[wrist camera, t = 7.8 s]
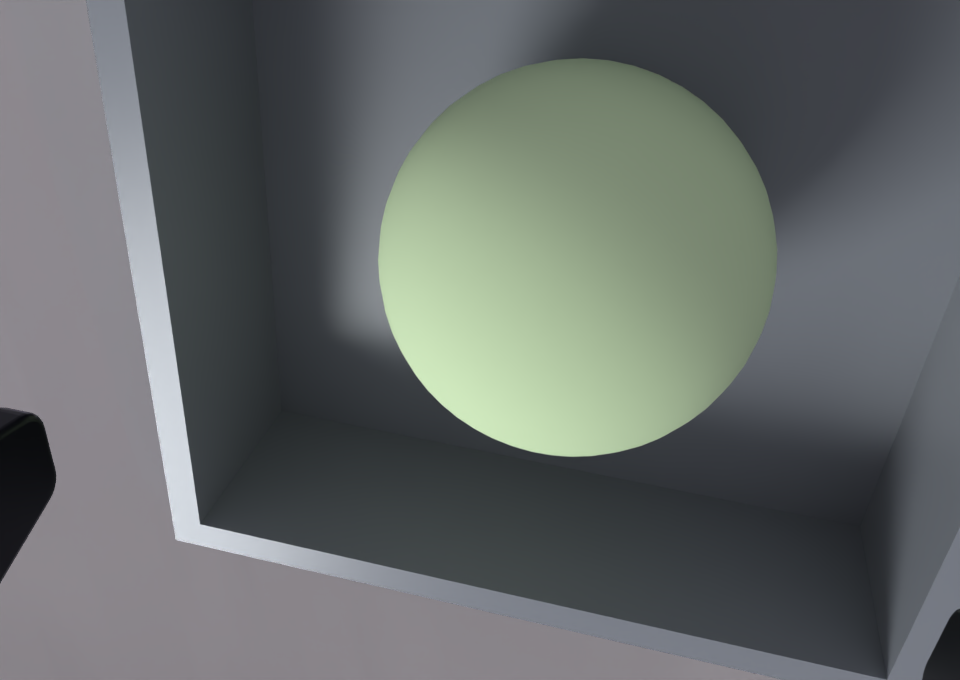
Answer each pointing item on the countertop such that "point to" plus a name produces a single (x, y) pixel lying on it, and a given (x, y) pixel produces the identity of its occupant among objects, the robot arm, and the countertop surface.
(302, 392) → the bin
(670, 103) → the ball
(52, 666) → the countertop surface
